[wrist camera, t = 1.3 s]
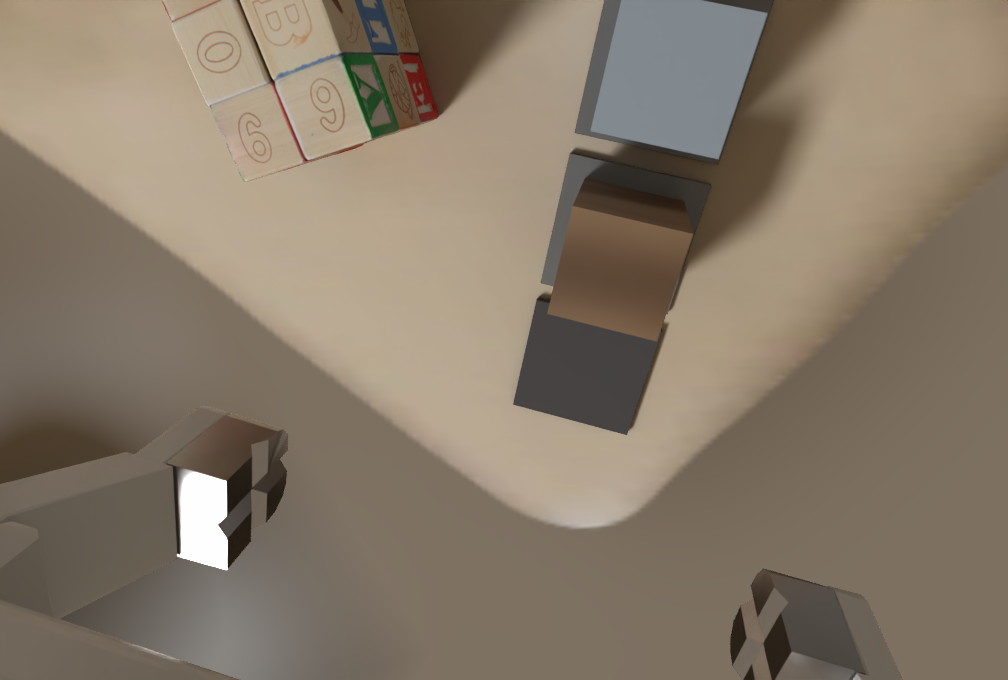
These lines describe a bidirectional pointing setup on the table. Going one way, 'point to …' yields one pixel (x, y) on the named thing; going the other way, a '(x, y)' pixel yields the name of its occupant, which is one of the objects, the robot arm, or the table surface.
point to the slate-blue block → (676, 73)
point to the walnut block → (621, 259)
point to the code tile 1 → (623, 177)
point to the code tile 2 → (762, 3)
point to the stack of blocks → (302, 75)
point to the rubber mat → (583, 371)
